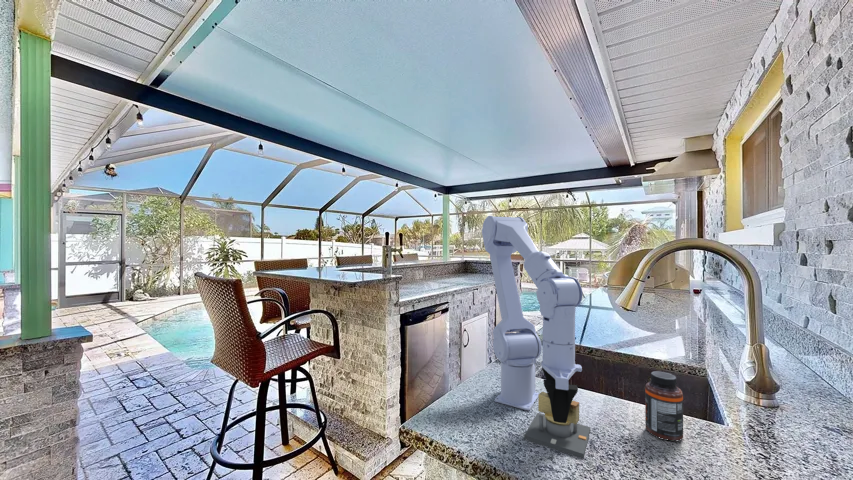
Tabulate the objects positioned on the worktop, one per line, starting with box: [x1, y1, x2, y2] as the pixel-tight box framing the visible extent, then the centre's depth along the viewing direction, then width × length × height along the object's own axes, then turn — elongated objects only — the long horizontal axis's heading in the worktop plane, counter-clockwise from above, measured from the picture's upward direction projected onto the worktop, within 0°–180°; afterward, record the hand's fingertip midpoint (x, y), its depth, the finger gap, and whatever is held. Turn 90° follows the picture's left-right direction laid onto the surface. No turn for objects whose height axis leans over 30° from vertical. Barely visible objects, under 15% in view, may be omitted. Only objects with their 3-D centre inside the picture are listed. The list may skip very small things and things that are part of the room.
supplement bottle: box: [644, 370, 684, 441], centre depth 64 cm, size 6×6×11 cm
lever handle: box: [537, 391, 580, 426], centre depth 63 cm, size 7×5×4 cm
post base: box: [523, 412, 591, 460], centre depth 62 cm, size 10×10×3 cm
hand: (558, 412), depth 63 cm, fingers open, 6 cm apart
